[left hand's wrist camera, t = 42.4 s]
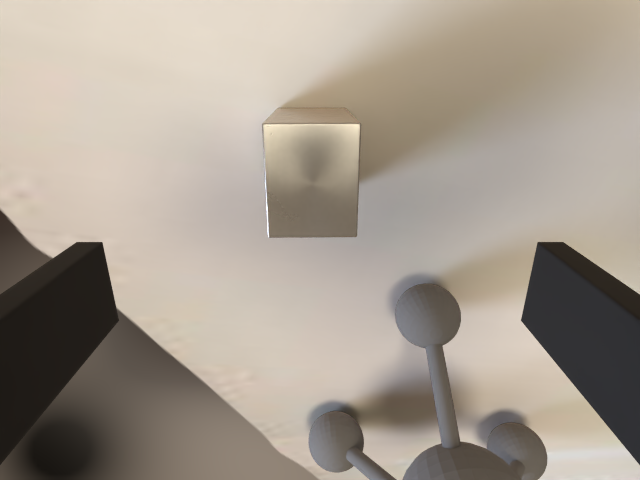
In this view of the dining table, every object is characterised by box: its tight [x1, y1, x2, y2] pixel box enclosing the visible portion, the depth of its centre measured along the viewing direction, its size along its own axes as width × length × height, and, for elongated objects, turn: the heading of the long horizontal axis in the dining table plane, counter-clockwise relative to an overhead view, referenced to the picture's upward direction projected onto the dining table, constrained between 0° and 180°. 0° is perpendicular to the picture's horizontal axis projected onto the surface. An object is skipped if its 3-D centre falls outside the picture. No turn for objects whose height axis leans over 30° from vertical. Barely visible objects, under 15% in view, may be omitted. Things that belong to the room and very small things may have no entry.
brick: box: [262, 108, 361, 237], centre depth 28 cm, size 7×5×11 cm
